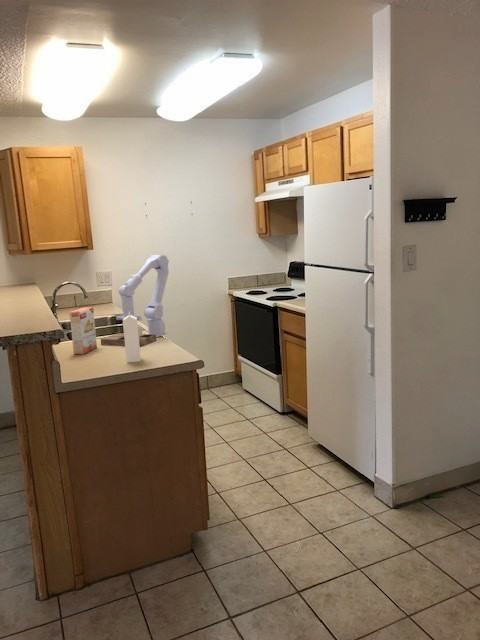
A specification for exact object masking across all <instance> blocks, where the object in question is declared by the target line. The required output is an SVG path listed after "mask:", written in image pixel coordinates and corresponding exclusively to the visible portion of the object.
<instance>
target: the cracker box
mask: <svg viewBox="0 0 480 640" xmlns="http://www.w3.org/2000/svg"><path fill="white" fill-rule="evenodd" d="M69 319H70V329H71V339H72V340H71V341H72V349H73V351H72V352H73V355H85V354H88V353H89V352H91V351H92V350H95V349H97V348H98V346H97V343H98V342H97V335H96V324H95V323H96V322H95V321H96V320H95V311H94V307H90V306H89V307H81V308H79V309H75V310H72V311H69Z"/></svg>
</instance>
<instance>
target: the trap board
mask: <svg viewBox="0 0 480 640" xmlns="http://www.w3.org/2000/svg"><path fill="white" fill-rule="evenodd" d="M155 341H157V337H156V335H152V334H149V333H146V334H145V333H142V335H141V336H139V346H140V348H141V347H143V346H147V345H148V344H151V343H153V342H155ZM100 345H101V346H113V345H115V347H125V340H124V332H123V333H122V332H121V333H120V332H117V333H114V334H113V335H112V334H111V335H109V336H107V337H104V338H100Z"/></svg>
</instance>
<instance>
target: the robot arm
mask: <svg viewBox="0 0 480 640" xmlns="http://www.w3.org/2000/svg"><path fill="white" fill-rule="evenodd" d="M169 263H170V261H169V259H168V257H167V256H166V255H165V254H151V255H150V256H149V257H148V258H147V259H146V261H145V263H144V264H143V266H141V268H140V269H139V270H138V272H137V273H134V274H131V275H130V278H129V279H128V280H127V281H125V282H124V285H121V286H120V287H119V289H118V294H119V295H120V297H121V304H122V305H121V307H122V308H121V309H122V315H117V316H116V318H115V319H116V320H117V321H123V319H124V318H125V317H127V316H128V315H129V311H130V315H132V316H135V317H137V322H140V321H142V320H143V319H142V318H143V316H140V315H135V309H134V297H133V295H134V294H135V292H136V291H135V290H136V289H137V288H138V287H139V286H140V285H141V283H143V278H144V277H145V276H146V275H147V274H148V273H149V272H150V271H151V270H152V269H154V270H155V271H156V272H157V276H156V280H155V283H154V284H155V285H154V287H153V292H152V296H151V299H150V301H149V302H148V303H147V304H146V308H145V309H144V312H143V315H144V316H145V318H146V321H147V322H146V323H147V332H148V333H147V334H152V335H156V338H159V337H162V336H164V335H166V334H168V333H167V332H166V326H165V325H166V324H165V320H164V319H163V316H164V312H163V311H164V307H163V305H162V300H163V296H164V292H165V288H166V285H167V280H168V276H169V271H170V270H169Z"/></svg>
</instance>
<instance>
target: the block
mask: <svg viewBox="0 0 480 640" xmlns="http://www.w3.org/2000/svg"><path fill="white" fill-rule="evenodd" d="M142 334H143V326H141V325H140V326H139V325H138V335H139V336H141V335H142Z"/></svg>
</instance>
